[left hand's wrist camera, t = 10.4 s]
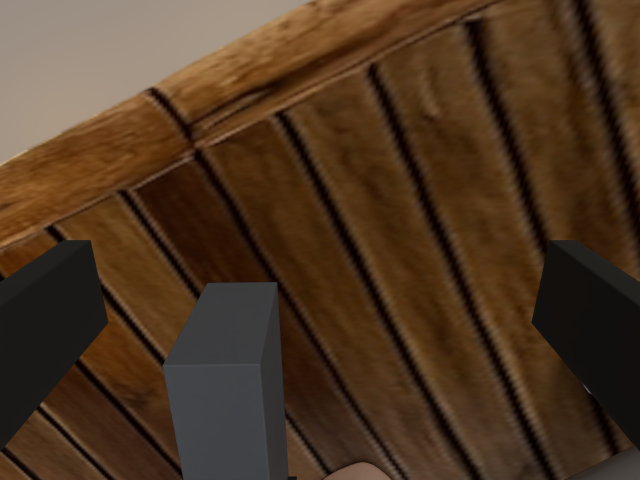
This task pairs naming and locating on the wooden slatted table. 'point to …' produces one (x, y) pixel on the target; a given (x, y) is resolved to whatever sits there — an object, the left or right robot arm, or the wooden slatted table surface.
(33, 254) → the wooden slatted table surface
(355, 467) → the anatomical model
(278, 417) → the bar
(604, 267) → the left robot arm
